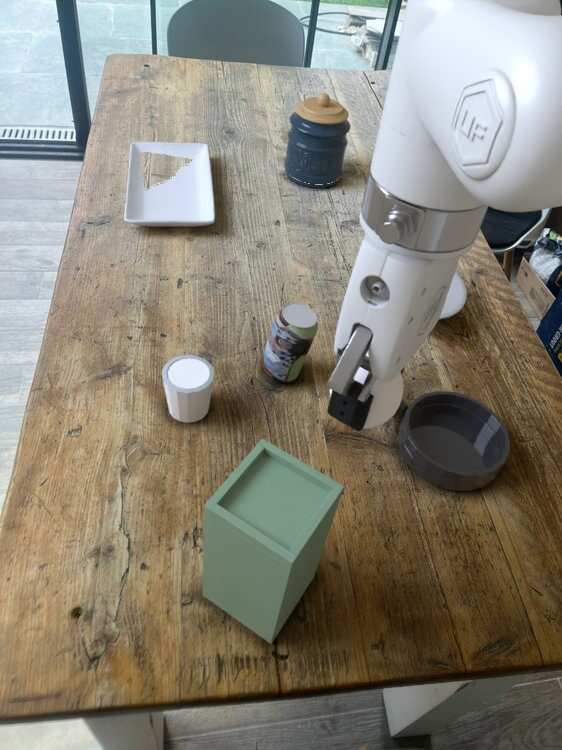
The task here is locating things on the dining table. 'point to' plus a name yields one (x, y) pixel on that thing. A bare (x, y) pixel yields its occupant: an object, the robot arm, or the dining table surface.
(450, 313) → the dish
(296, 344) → the beverage can
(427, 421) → the pan
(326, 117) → the canister
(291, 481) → the stand
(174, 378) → the white cylinder
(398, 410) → the pan handle
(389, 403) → the egg
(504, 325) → the dining table surface
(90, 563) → the dining table surface
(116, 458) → the dining table surface
